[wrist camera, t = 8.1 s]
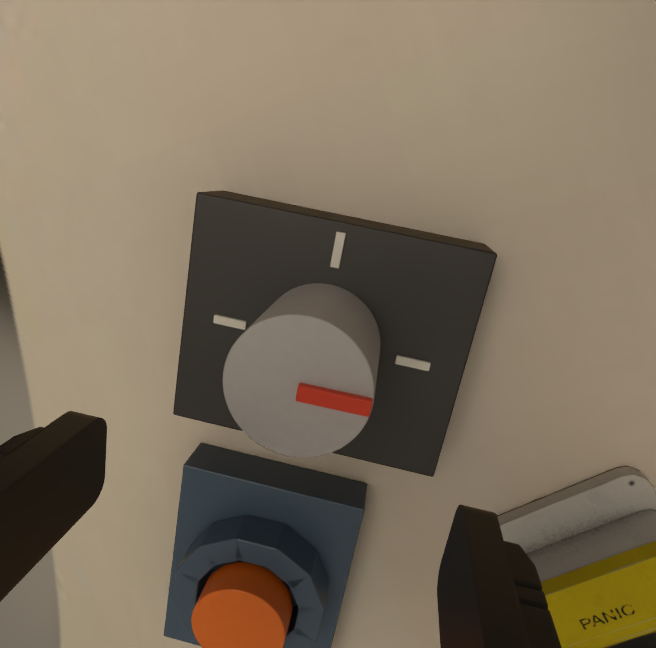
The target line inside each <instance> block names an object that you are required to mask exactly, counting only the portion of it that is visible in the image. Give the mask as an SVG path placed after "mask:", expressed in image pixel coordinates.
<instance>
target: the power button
mask: <svg viewBox="0 0 656 648" xmlns="http://www.w3.org/2000/svg"><path fill="white" fill-rule="evenodd" d="M292 609H293V603H292V598H291V594H290V592H289V590H288V588H287V586H286V585H285V583H284V582H283V581H282V580H281V579H280V578H279V577H278V576H277V575H275V574H274V573H273V572H272V571H270V570H268V569H267V568H265V567H262V566H259V565H255V564H251V563H247V562H235V563H230V564H226V565H224V566H222V567H220V568H218V569H217V570H216V571H214V572H213V573H212V574H211V575H210V577H209V578H208V580H207V582H206V584H205V586H204V588H203V590H202V592H201V594H200V597H199V599H198V601H197V603H196V605H195V607H194V609H193V612H192V619H191V623H192V629H193V633H194V635H195V637H196V639H197V641H198V642H199V644H200V645H201V646H202V647H203V648H283V646H284V643H285V639H286V635H287V631H288V627H289V623H290V619H291V615H292Z"/></svg>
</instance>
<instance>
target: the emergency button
mask: <svg viewBox="0 0 656 648" xmlns="http://www.w3.org/2000/svg"><path fill="white" fill-rule="evenodd" d="M497 517H498V521H499V524H500V528H501V532H502V536H503V540H504V541H507V542H511V543H515V544H519V545H520V546H521V548H522V549H523V550H524V552H525V553H526V554H527V555H528V557H529V558H530V559H531V561H532V562H533V563H534V564H535V566H536V569H537V572H538V575H539V579H540V582H541V585H542V592H544V594H545V597H546V600H547V603H548V610H549V611H550V613H551V616H552V619H553V622H554V625H555V628H556V631H557V635H558V638H559V641H560V644H561V647H562V648H656V492H655V490H654V488H653V487H652V485H651V484H650V483H649V481H648V480H647V479H646V477H645V476H644V475H643V474H642V473H641V472H640V471H639V470H636V469H634V468H631V467H621V468H615V469H613V470H610V471H608V472H606V473H603V474H601V475H598V476H596V477H593V478H591V479H588V480H586V481H583V482H581V483H578V484H576V485H573V486H571V487H569V488H566V489H564V490H561V491H559V492H556V493H554V494H551V495H549V496H546V497H544V498H541V499H539V500H536V501H534V502H532V503H529V504H527V505H524V506H522V507H519V508H517V509H514V510H512V511H509V512H507V513H504V514H502V515H499V516H497Z"/></svg>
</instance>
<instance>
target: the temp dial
mask: <svg viewBox="0 0 656 648" xmlns="http://www.w3.org/2000/svg"><path fill="white" fill-rule="evenodd" d="M379 355H380V333H379V329H378V325H377V323H376V320H375V318H374V316H373V314H372V313H371V311H370V310H369V308H368V307H367V306H366V305H365V304H364V303H363V302H362V301H361V300H360V299H359V298H358V297H357V296H355V295H354V294H353V293H351V292H349V291H347V290H345V289H343V288H341V287H338V286H334V285H331V284H324V283H313V284H306V285H302V286H298V287H296V288H293V289H291V290H289V291H288V292H286V293H284V294H283V295H282V296H281V297H279V298H278V299H277V300H276V301H275V302H274V303H273V304H272V305H271V306H270V307H269V308H268V309H267V310H266V311H265V312H264V313H263V314H262V315H261V316H260V317H259V318H258V319H257V320H256V321H255V322H254V323H253V324H252V325H251V326H250V327H249V328H248V329H247V330H246V331H245V332H244V333H243V334H242V335H241V336H240V337H239V338H238V339H237V340H236V342H235V343H234V344H233V346H232V348H231V349H230V351H229V353H228V356H227V359H226V361H225V365H224V370H223V391H224V396H225V400H226V403H227V406H228V409H229V411H230V413H231V415H232V417H233V418H234V420H235V421H236V423H237V424H238V426H239V427H240V428H241V429H242V430H243V431H244V433H246V434H247V435H248V436H249V437H250V438H251V439H252V440H254V441H255V442H256V443H258V444H259V445H261V446H263V447H265V448H266V449H268V450H271V451H273V452H275V453H278V454H282V455H285V456H291V457H299V458H309V457H317V456H322V455H326V454H329V453H332V452H334V451H336V450H338V449H340V448H342V447H344V446H345V445H347V444H348V443H349V442H351V441H352V440H353V439H354V438H355V437H356V436H357V435H358V434H359V433H360V432H361V430H362V429H363V427H364V426H365V424H366V423H367V421H368V419H369V416H370V414H371V411H372V408H373V403H374V396H375V388H376V380H377V372H378V363H379Z"/></svg>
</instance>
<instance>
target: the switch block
mask: <svg viewBox="0 0 656 648" xmlns="http://www.w3.org/2000/svg"><path fill="white" fill-rule="evenodd" d="M366 491H367V484H366V483H362V482H358V481H354V480H350V479H345V478H341V477H337V476H333V475H329V474H325V473H321V472H317V471H313V470H309V469H305V468H300V467H296V466H292V465H288V464H284V463H280V462H276V461H272V460H268V459H264V458H260V457H256V456H251V455H247V454H243V453H239V452H235V451H231V450H227V449H223V448H219V447H215V446H211V445H206V444H202V443H200V444H199V446H198V447H197V448H196V450H195V451H194V452H193V454H192V455H191V456H190V458H189V459H188V460H187V461H186V463H185V464H184V467H183V476H182V484H181V493H180V501H179V510H178V519H177V527H176V536H175V544H174V553H173V561H172V570H171V578H170V587H169V595H168V604H167V612H166V621H165V629H164V636H166V637H170V638H174V639H177V640H181V641H184V642H188V643H192V644H195V645H199V646H201V645H200V644H199V642H198V641H197V639H196V637H195V635H194V633H193V629H192V623H191V619H192V612H193V609H194V607H195V605H196V603H197V601H198V599H199V597H200V594H201V592H202V590H203V588H204V586H205V584H206V582H207V580H208V578H209V577H210V575H211V574H212V573H213V572H214V571H216V570H217V569H218V568H220V567H222V566H224V565H226V564H230V563H235V562H247V563H251V564H255V565H259V566H262V567H265V568H267V569H268V570H270V571H272V572H273V573H274V574H275V575H277V576H278V577H279V578H280V579H281V580H282V581H283V582H284V583H285V585H286V586H287V588H288V590H289V592H290V594H291V598H292V603H293V609H292V615H291V619H290V623H289V627H288V631H287V635H286V639H285V643H284V646H283V648H331V644H332V640H333V636H334V631H335V627H336V623H337V619H338V615H339V611H340V607H341V603H342V599H343V595H344V591H345V587H346V583H347V579H348V575H349V571H350V567H351V563H352V558H353V554H354V550H355V546H356V542H357V538H358V534H359V530H360V526H361V522H362V518H363V514H364V509H365V500H366Z"/></svg>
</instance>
